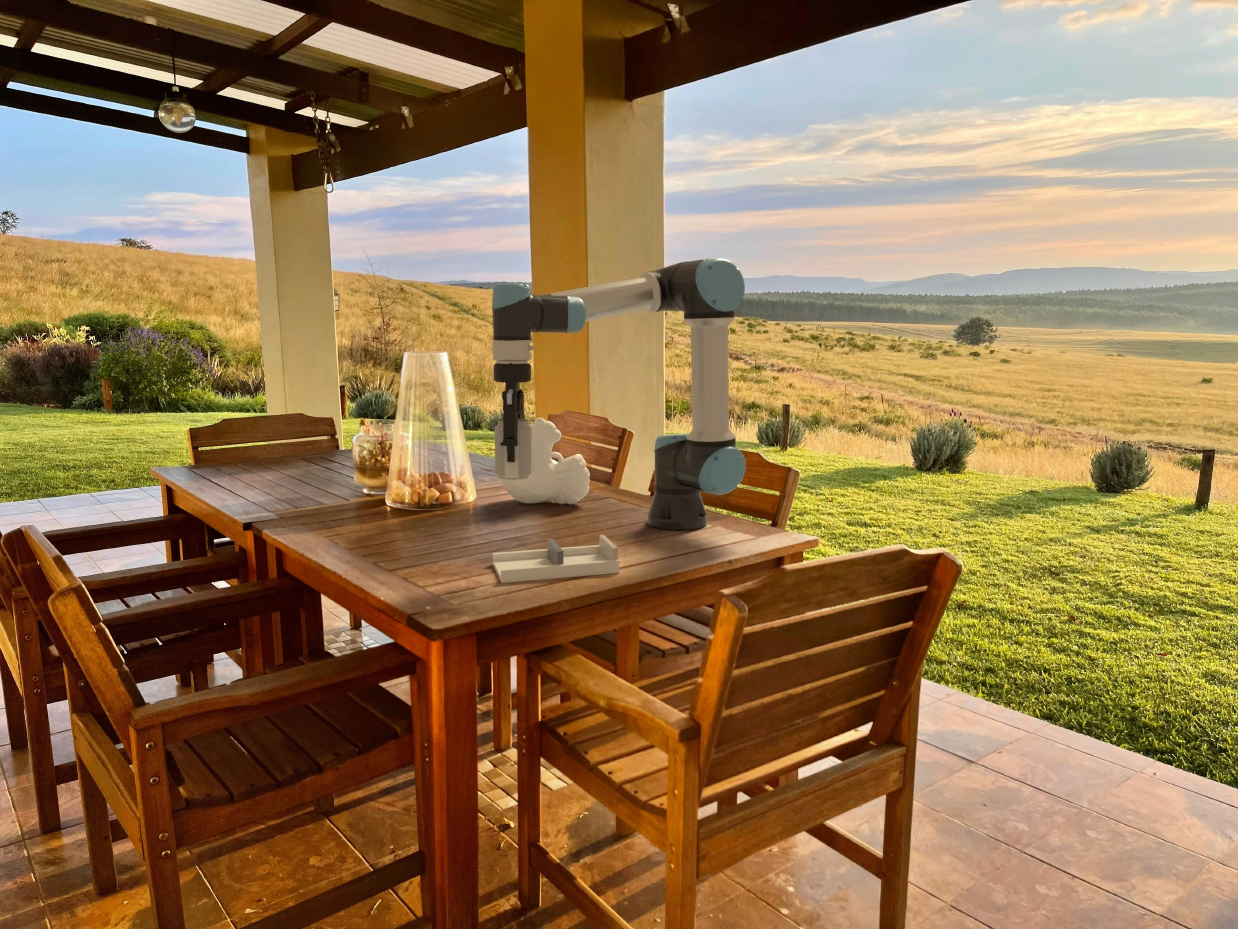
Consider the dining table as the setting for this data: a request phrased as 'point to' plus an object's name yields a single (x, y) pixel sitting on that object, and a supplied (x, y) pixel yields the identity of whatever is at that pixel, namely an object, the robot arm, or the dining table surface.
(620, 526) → the dining table surface
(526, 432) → the can
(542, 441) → the decorative rooster
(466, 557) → the dining table surface
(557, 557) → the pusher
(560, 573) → the tray
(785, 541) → the dining table surface
